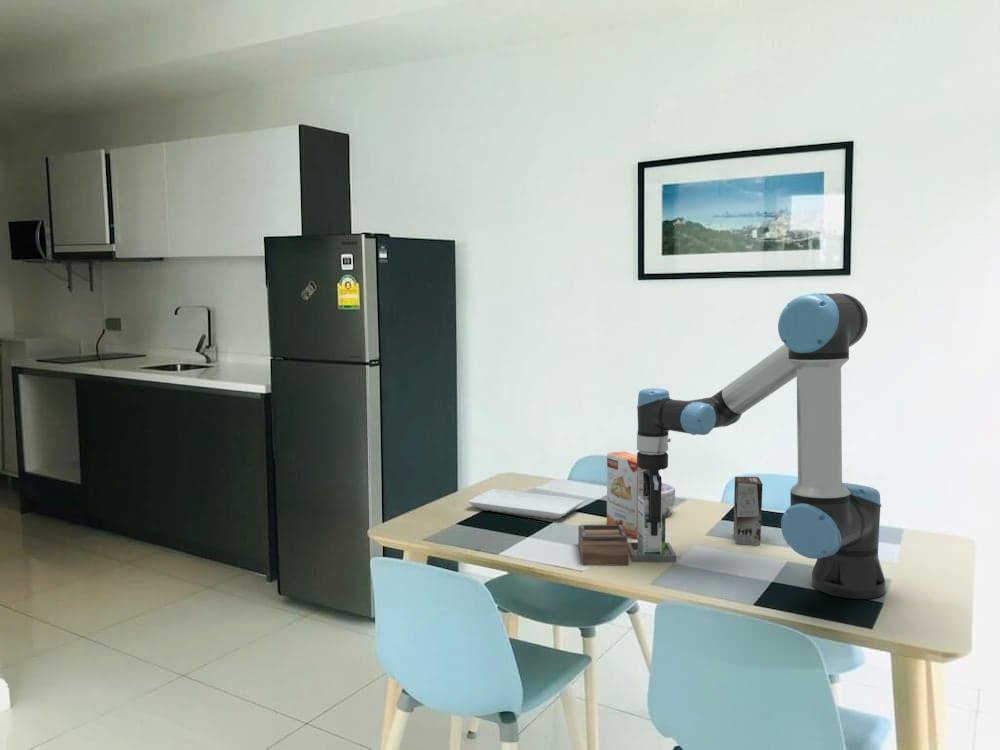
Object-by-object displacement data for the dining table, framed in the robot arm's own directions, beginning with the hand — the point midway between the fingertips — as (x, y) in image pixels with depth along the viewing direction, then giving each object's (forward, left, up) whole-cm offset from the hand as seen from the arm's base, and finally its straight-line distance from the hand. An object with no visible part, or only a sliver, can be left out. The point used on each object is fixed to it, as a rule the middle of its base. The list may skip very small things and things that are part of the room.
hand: (651, 543), depth 208 cm
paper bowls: (+39, -5, -3) cm, 39 cm away
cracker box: (+20, +3, -3) cm, 20 cm away
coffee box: (+13, -27, -3) cm, 30 cm away
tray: (+42, +31, -3) cm, 52 cm away
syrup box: (0, 0, -3) cm, 3 cm away
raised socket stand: (0, +12, -3) cm, 12 cm away
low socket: (0, 0, -3) cm, 3 cm away
